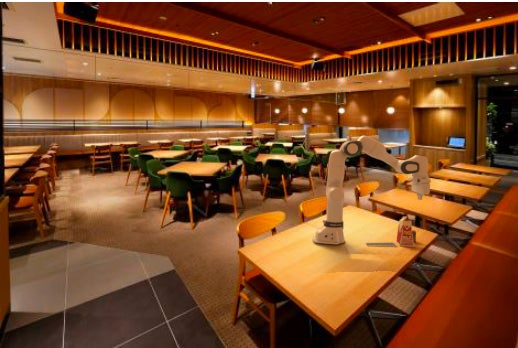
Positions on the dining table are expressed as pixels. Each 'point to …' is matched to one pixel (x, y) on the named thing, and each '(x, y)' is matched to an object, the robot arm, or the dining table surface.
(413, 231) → the walnut block
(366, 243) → the strip
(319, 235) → the robot arm
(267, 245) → the dining table surface
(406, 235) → the milk carton
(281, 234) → the dining table surface
